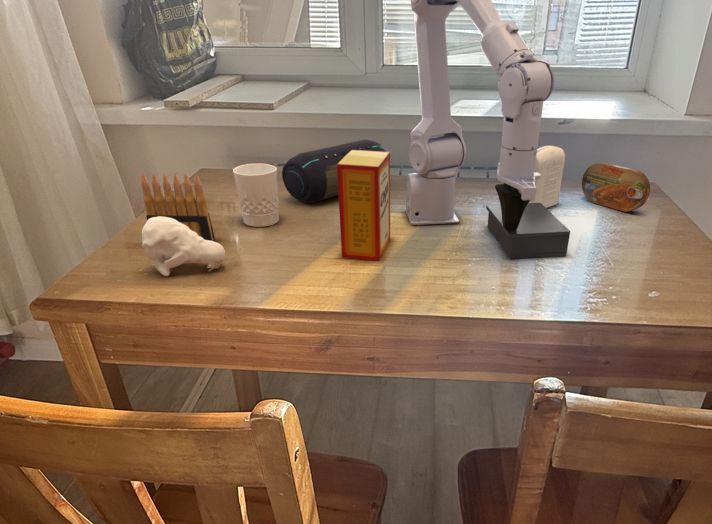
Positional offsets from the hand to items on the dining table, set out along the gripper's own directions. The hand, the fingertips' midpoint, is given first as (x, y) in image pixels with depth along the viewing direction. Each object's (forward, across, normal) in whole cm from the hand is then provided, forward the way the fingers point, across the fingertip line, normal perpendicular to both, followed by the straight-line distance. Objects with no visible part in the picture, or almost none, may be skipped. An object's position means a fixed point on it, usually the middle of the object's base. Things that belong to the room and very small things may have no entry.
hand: (510, 228), depth 99 cm
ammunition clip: (+5, +12, +56) cm, 58 cm away
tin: (+5, +22, -30) cm, 37 cm away
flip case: (+4, +5, -5) cm, 8 cm away
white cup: (+5, +21, +43) cm, 48 cm away
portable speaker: (+5, +37, +27) cm, 46 cm away
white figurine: (+5, 0, +53) cm, 53 cm away
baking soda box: (+5, +5, +24) cm, 25 cm away
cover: (+1, +5, -4) cm, 7 cm away
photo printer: (+5, +23, -14) cm, 27 cm away
